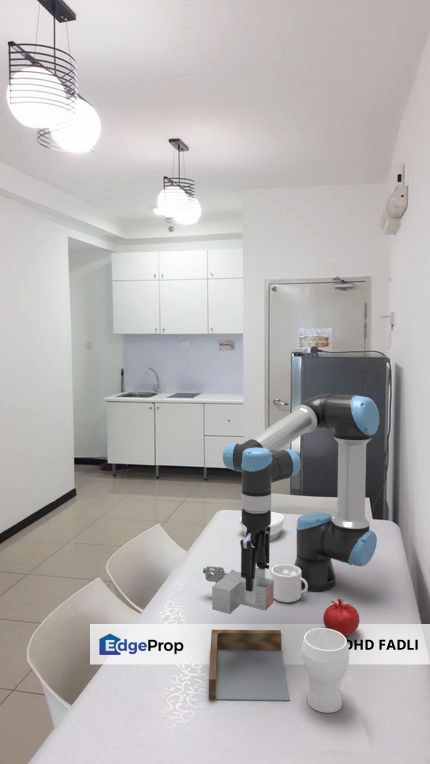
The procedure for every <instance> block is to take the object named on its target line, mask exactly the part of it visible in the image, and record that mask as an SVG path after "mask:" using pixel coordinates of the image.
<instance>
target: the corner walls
mask: <svg viewBox="0 0 430 764" xmlns="http://www.w3.org/2000/svg"><path fill="white" fill-rule="evenodd" d="M210 633H211V635H210V649H209V650H210V651H209V666H208V667H209V669H208V700H209V701H217V700H216V678H217V650H281V651H282V630H281V629H279V630H278V629H275V630H274V629H211V632H210Z"/></svg>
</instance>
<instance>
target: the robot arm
mask: <svg viewBox="0 0 430 764" xmlns="http://www.w3.org/2000/svg"><path fill="white" fill-rule="evenodd" d="M379 426H380V414H379V409H378V407H377V404H376V403H375V401H374V400H373V399H371V398H370V397H368V396H361V395H355V394H354V395H353V394H352V395H351V394H349V395H348V394H335V393H325V394H320V395H317V396H313V397H311V398H308V399H307V400H304V401H302V402H301V403H299V404H298V405H296V406H295V407H294V408H292V410H291V413H289V414H287V415H285V416H284V417H283V418H281V419H280V420H277V421H276V422H274V423H273V424H272V425H270V426H269V427H267V428H265V429H263V430H262V431H261V432H259V433H258V434H256V435H254V436H253V437H251V438H249V439H248V440H246V441H245V442H243V443H241V444H240V443H229V444H227V445H226V447H225V448H224V450H223V452H222V462H223V464H224V466H225V467H226V468H227V469H229V470H233V471H235V472H240V473H241V494H240V498H241V508H242V509H241V516H242V521H241V522H242V524H243V525H244V526H246V528H247V531H246V537H245V539H240V541H239V542H240V543H239V544H240V548H241V549H240V551H241V552H240V565H241V566H240V572H241V577H242V578H245V601H246V602H250V603H254V604H255V603H256V577H255V576H257V577H261V578H266V570H269V569H270V565H269V564H270V554H271V553H270V552H271V551H270V547H271V546H270V542H271V541H270V529H271V527H269V525H270V524H271V512H272V511H271V509H272V483H275V482H279V481H283V480H285V479H286V480H288V479H290V478H292V477H294V476H297V474H298V473H299V472H300V470H301V466H302V463H301V458H300V456H299V455H298V453H297V452H296V451H294V450H293V449H284V448H285V447H287V446H288V445H290V443H292V442H294V441H295V440H296V439H298V438H299V437H301V436H302V435H304V434H305V433H307V434H309V433H312V432H315V431H316V430H330V431H333V438H334V440H335V441H336V442H337V443H338V445H337V446H338V448H337V449H338V450H337V451H338V452H337V453H338V454H337V509H336V511H337V512H336V513H337V514H336V516H335V517H334V518H333V517H332V515H331V514H330V513H327V512H310V513H305V514H302V515H299V517H298V518H297V521H296V529H295V530H296V558H295V561H294V564H293V565H294V566H297V567H299V568H300V569H301V572H302V578H303V579H305V580H306V582H307V584H308V589H307V591H312V592H313V591H315V592H322V591H327V590H328V591H329V590H331V589H333V588H334V587H335V586H336V585H337V574H336V571H335V568H334V565H333V562H332V560H336V561H339V562H342V563H345V564H348V565H349V566H355V567H366V565H367V564H369V563H370V561H371V560H372V558H373V556H374V554H375V551H376V548H377V543H378V539H377V538H378V537H377V535H376V532H374V531H373V530H370V526H371V525H370V521H369V520H368V519H367V518H366V516H365V515H366V480H367V479H366V475H367V474H366V473H367V471H366V470H367V469H366V468H367V466H366V465H367V444H368V443H369V442H370V441H371V440H372V435H375V434H376V433H377V431H378V429H379ZM304 589H305V583H304V582H303V581H301V590H304Z"/></svg>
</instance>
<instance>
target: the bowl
mask: <svg viewBox="0 0 430 764" xmlns="http://www.w3.org/2000/svg"><path fill="white" fill-rule="evenodd" d="M285 518H286V517H285V515H284V514H281V513H279V512H275V511H274V512H273V511H271V524H270V525H269V527H271V529H270V542H272V541H275V540H277V539H278V537H280V533H281V530H282V528H283V526H284V523H285ZM238 521H239V524H240V527H241V529H242V533H243V535H244V537H245V538H246V531H247V528H246V526H244V525H243V524H242V522H241V521H242V515H241V516H240V517H239V520H238Z"/></svg>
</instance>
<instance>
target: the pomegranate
mask: <svg viewBox="0 0 430 764" xmlns="http://www.w3.org/2000/svg"><path fill="white" fill-rule="evenodd" d="M336 600H337V602H338V603H337V602H336V601H334V600H331V601H330V602H331V603H333V604H331V605H328V607H326V609H325V611H324V612H323V617H322V619H323V624H324V626H325V628H327V629H332V630H335V631H337V632H340V633H341V634H342V635H343V636H344V637H345V636H349V635H352V634H354V633H355V632H357V630H358V628H359V626H360V615H359V613H358V610H357V608H355V607H354V606H353V604H351V603H344V601H345V599H343V600H342V599H341V598H337V599H336Z"/></svg>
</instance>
